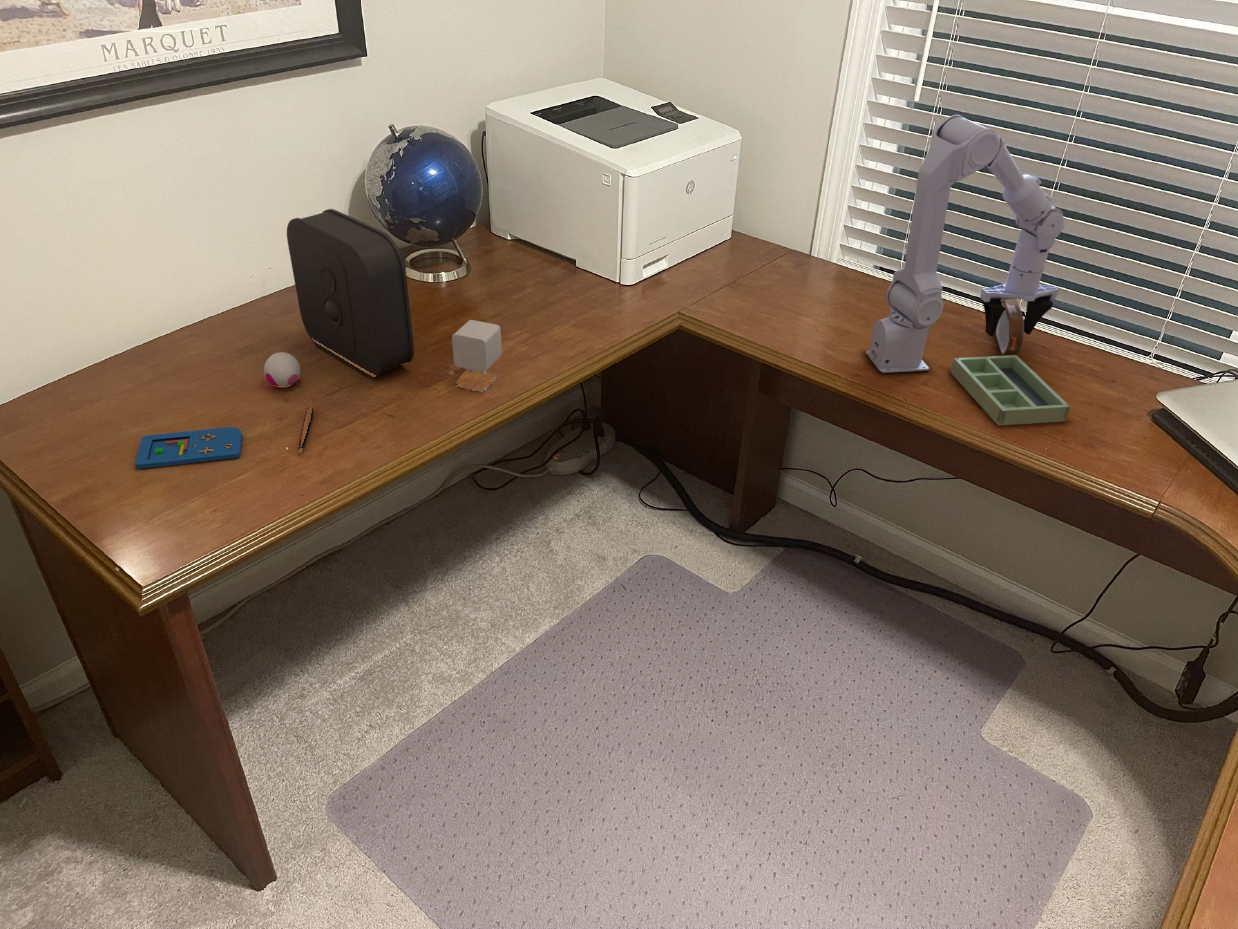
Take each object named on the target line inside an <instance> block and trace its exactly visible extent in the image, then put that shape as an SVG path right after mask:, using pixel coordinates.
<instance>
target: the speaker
mask: <svg viewBox="0 0 1238 929" xmlns="http://www.w3.org/2000/svg"><path fill="white" fill-rule="evenodd" d="M286 240H287V245H288V246H287V247H288V251H289V257H290V264H291V270H292V274H293V280H294V286H295V291H296V297H297V301H298V307H299V314H300V318H301V322H302V324H303V327H304V329H305V331H306V334H307V335H308V337H309V336H310V337H311V338H313V339H314V340H316V341H318V342H319V343H321V344H323V345H324V346H326V347H327V348H329V349H331V350H333V351H334V352H336V353H338V354H339V355H342V356H343V357H345V358H346V359H348V360H350V361H351V362H353V363H355V364H357V365H358V366H360V367H361V368H364V369H365V370H367V371H369V372H370V373H373V374H374V375H376V376H378V375H379V376H380V375H381V374H383V373H386V372H388V371H390V370H393V369H395V368H397V367H396V366H398V367H404V366H406V365H401V364H404V363H406V362H407V363H409V362H410V363H412V361H413V359H414V356H415V346H414V345H415V344H414V335H413V334H414V333H413V326H412V315H411V307H410V298H409V297H410V296H409V289H408V287H409V286H408V279H407V278H408V277H407V271H406V265H405V261H404V257H403V255H402V253H401V251H400V249H399V247H398V245H397V244H396V242H395V240H394V239H393V238H392V237H391V236H390V235H389V234H388V233H386V232H384V231H383V230H381V229H379V228H377V227H375V226H372V225H370V224H367V223H365V222H363V221H361V220H358V219H356V218H354V217H352V216H350V215H349V214H345V213H343V212H341V211H339V210H336V209H333V208H328V209H325V210H324V211H323V210H322V212H320V213H317V214H313V215H309V216H305V217H301V218H300V217H295V218H292V219H290V220H289V222H288V223H287V226H286ZM310 337H309V338H310ZM311 338H310V339H311ZM311 341H312V343H313V344H314V345H315V346H316V347H317V348H318V349H319V350H321V351H323V352H324V353H326V354H328V355H329V356H331V357H333V358H334V359H336V360H337V361H339V362H341V363H342V364H344V365H346V366H347V367H349V368H351V369H352V370H354V371H355V372H356V373H357V372H358V374H361V375H362V376H364V377H366V378H368V379H376V378H377V377H375V378H374V377H372V376H371V375H369V374H367V373H365V372H364V371H362V370H360V369H359V368H357V367H355V366H354V365H352V364H350V363H349V362H347V361H345V360H344V359H342V358H340V357H339V356H337V355H335V354H334V353H332V352H331V351H329V350H327V349H326V348H324V347H322V346H321V345H319V344H317V343H316V342H314V341H313V340H311ZM410 363H409V364H410ZM399 365H400V366H399ZM394 367H395V368H394ZM392 368H393V369H392ZM389 369H390V370H389ZM387 370H388V371H387ZM385 371H386V372H385ZM382 372H383V373H382ZM379 376H378V377H379Z"/></svg>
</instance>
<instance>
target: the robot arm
mask: <svg viewBox="0 0 1238 929" xmlns="http://www.w3.org/2000/svg"><path fill="white" fill-rule="evenodd" d="M985 167H987V168H988V170H989V171H990V172H991V174H992V175H993V176H994V177H995V178H996V179H997V181H998V182H999V183H1000V184H1001V185H1002V186H1003V190H1002V199H1003V200H1004V201H1005V203H1006V204H1007V205H1008V207H1009V208H1010V210H1011V211H1012V212H1013V213H1014V215H1015V224H1016V226H1018V227H1019V228H1021V229H1020V230H1019V234H1018V237H1017V242H1016V246H1015V248H1014V252H1013V256H1012V259H1011V263H1010V267H1009V270H1008V273H1007V277H1006V281H1005V283H1003V284H1000V285H996V286H991V287H984V288H982V289H981V292H980V296H979V298H980V299H981V303H982V306H983V310H984V317H985V333H986V334H987V335H988V336H989V337H994V336H995V335H996V329H997V325H998V322H999V320H1000V317H1001V315H1002V314H1003V312H1004V311H1005V309H1006V308H1005V307H1004V306H1003V305H1002V302H1001V300H1007V299H1017V300H1022V301H1024V302H1026V310H1025V315H1024V317H1023V319H1024V333H1025V334H1026V335H1031V333H1032V332H1033V330H1034V328H1035V327H1036V325H1037V324H1038V323H1039V322H1040V320H1041V319H1042V318H1043V317H1044V316H1045V314H1047V313H1048V312H1049V311H1050V310H1052V308H1053V306H1054V302H1053V301H1052V300H1056V299H1057V296H1058V293H1059V288H1057V287H1056V286H1054V285H1046V284H1040V282H1041V279H1042V276H1043V272H1044V269H1045V265H1046V262H1047V259H1048V256H1049V253H1050V249H1052V248H1053V246H1054V245H1055V242H1056V239H1057V238H1058V236H1060V235H1061V233H1062V232H1063V230H1064V229H1065V226H1066V224H1067V223H1066V222H1065V218H1064V213H1063V211H1062V210H1061V209H1059V208H1058V207H1056V206H1053V204H1052V200H1053V199H1052V197H1051V195H1049V194H1046V193H1045V192H1044V190H1043V188H1041V186H1040V185H1041V184H1042V181H1041V179H1040V178H1039V177H1037V176H1035V175H1033V176H1032V175H1030V174H1023V173H1022V172H1021V170H1020V168H1019V166H1018V165H1017V163H1016V161H1015V159H1014V158H1013V156H1012V155H1011V153H1010V151H1009V149H1008V148H1007V146H1006V141H1005V140H1004V139H1003V138H1002V137H1001V136H1000V135H999V133H998V132H997V131H996V130H995V129H993V128H990V127H988V128H987V127H985V126H983V125H981V124H979V123H976V122H974V121H971V120H969V119H968V118H966V117H965V116H963V115H961V114H953V115H951V116H948V117H947V118H945V119H944V120H943V121H942V122H940V123H939V125H937V126H936V127H935V128H934V129H932V131H931V137H930V145H929V149H928V151H927V153H926V155H925V157H924V159H923V161H922V163H921V164H920V168H919V170H918V173H917V179H916V180H917V181H916V187H915V194H914V200H913V207H912V213H911V220H910V227H909V228H910V229H909V234H908V240H907V247H906V255H905V261H904V266H903V267H902V268H900V269H897V270H896V271H894V272H893V276H892V281H891V283H890V285H889V286H888V288H887V290H886V295H885V299H886V302H887V304H888V306H890V307H889V313H890V315H889V316H887V317H885V318H881V319H878V320H877V319H876V321H875V322H874V323H873V327H872V331H871V335H870V337H871V338H870V340H869V341H870V342H869V346H868V350H866V353H865V354H866V356H868V358H869V360H871V362H872V363H873V364H874V366H875V367H876V368H877V370H878V371H879V372H880V373H882V374H887V373H888V374H889V373H890V374H891V373H907V372H928V371H929V370H930V366H928V364H926V363H925V361H924V360H923V355H924V351H925V347H926V343H927V338H928V335H929V332H930V327H933V324H935V323H936V322H937V321H938V320H939V319H940V317H941V316H942V314H943V312H944V309H945V308H944V306H945V305H944V300H943V297H942V294H943V286H942V283H941V281H940V277H939V276H938V272H937V271H938V264H939V258H940V252H941V247H942V242H943V234H944V229H945V224H946V217H947V213H948V212H947V211H948V206H949V200H950V193H951V188H952V185H954V184H955V183H956V182H960V181H962V180H964V179H965V178H967V177H969V176H971V175H972V174H975V173H977V172H978V171H980V170H982V169H983V168H985Z"/></svg>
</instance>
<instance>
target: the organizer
mask: <svg viewBox="0 0 1238 929" xmlns="http://www.w3.org/2000/svg"><path fill="white" fill-rule="evenodd" d="M950 374H951V375H952V376H953V377H954V378H955V379H956V381H957V382H958V383H959V384H960V385H961V386H962V387H963V388H964V389H965V391H966V392H967V393H968V394H969V395H970V396H971V397H972V398H973V399H974V400H975V402H976V403H977V404H978V405H979V406H980V407H981V409H982V410H983V411H984V412H985V413H986V414H987V415H988V416H989V417H990V418H991V419H992V421H993V422H994V423H995V424H996V425H997V426H1014V425H1031V424H1032V425H1033V424H1048V423H1049V424H1050V423H1063V422H1066V420H1067V417H1068V414H1069V412H1070V409H1071V406H1070V405H1069V404H1068V403H1067V402H1066V401H1065V400H1064V399H1063V398H1062V397H1061V396H1060V395H1059V394H1058V393H1057V392H1056V391H1055V390H1054V389H1053V388H1052V387H1051V386H1049V384H1047V383H1046V382H1045V381H1044V380H1043V379H1042V378H1041V377H1040V375H1038V374H1037V373H1036V372H1035V371H1034V370H1033V369H1032V368H1030V366H1028V365H1027V364H1026V363H1025V362H1024V361H1023V360H1022V359H1021V358H1020V357H1019V355H1018V356H1017V355H1008V356H1002V355H989V356H972V357H954V358H953V361H952V364H951V368H950Z"/></svg>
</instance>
